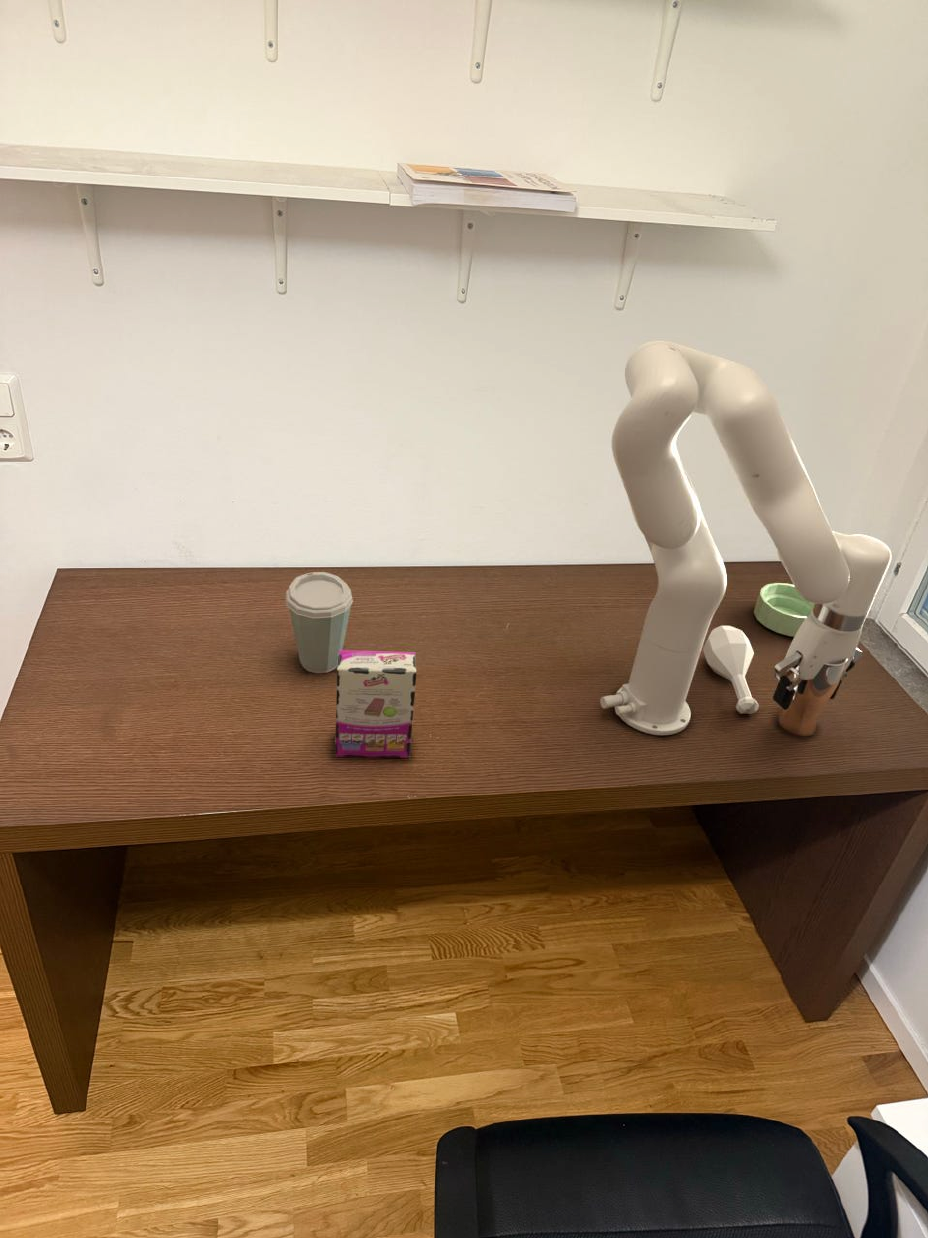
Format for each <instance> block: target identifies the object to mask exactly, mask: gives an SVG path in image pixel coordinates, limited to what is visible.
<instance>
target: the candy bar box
mask: <svg viewBox="0 0 928 1238" xmlns="http://www.w3.org/2000/svg"><path fill="white" fill-rule="evenodd" d="M416 683H417V660H416V652H415V651H390V650H389V651H388V650H387V651H386V650H385V651H384V650H357V649H355V650H353V649H343V650H339V655H338V663H337V667H336V696H335V697H336V700H335V702H336V703H335V739H334V742H335V743H334V756H335V757H337V758H385V759H386V758H392V759H393V758H394V759H395V758H397V759H409V758H410V753H411V745H412V744H411V743H412V733H413V732H412V731H413V720H414V706H415V697H416Z"/></svg>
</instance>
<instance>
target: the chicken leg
mask: <svg viewBox="0 0 928 1238" xmlns="http://www.w3.org/2000/svg"><path fill="white" fill-rule="evenodd" d="M702 651H703V654H704V657H705V661H706V662H707V663H706V664H707V665H709V667H710V668H711V671H713V672H714V673H715V674H717V675H719V676H721V677H723V678H724V679H726V680H728V681H729V682H731V683H732V686H733V689H734V692H735V695H736V697H737V703H736V705H735V709H736V711H737V712H738V713H739V714H741V715H742V714H743V715H744V714H749V715H751V714H754V713H756V712H757V711H758V709H759V707H760V705H759V703H758V702H757V700H756V699H755V698H754V697H752V694H751V690H750V688H749V685H748V683H747V679H746V674H747V672H748V670H749V667H750V665H751V663H752V660H753V657H754V655H755V651H754V649H753V647H752V644H751V642H750V639H749V638H748V636H746V634H745V632H743V630H742V629H739V628H736V627H734V626H731V625H720V626H717V627H715V628H713V629H711V632H710V634H709V636H708V637H707V640H706V642H705V644H704V645H703V647H702Z"/></svg>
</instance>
